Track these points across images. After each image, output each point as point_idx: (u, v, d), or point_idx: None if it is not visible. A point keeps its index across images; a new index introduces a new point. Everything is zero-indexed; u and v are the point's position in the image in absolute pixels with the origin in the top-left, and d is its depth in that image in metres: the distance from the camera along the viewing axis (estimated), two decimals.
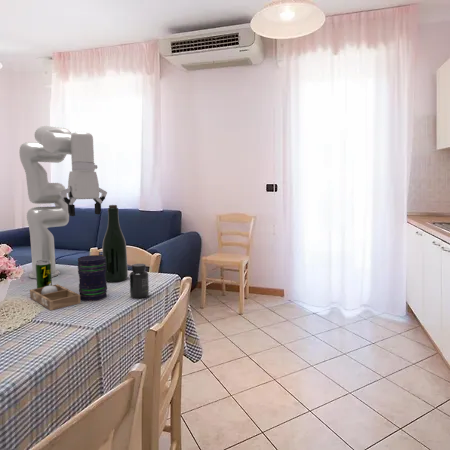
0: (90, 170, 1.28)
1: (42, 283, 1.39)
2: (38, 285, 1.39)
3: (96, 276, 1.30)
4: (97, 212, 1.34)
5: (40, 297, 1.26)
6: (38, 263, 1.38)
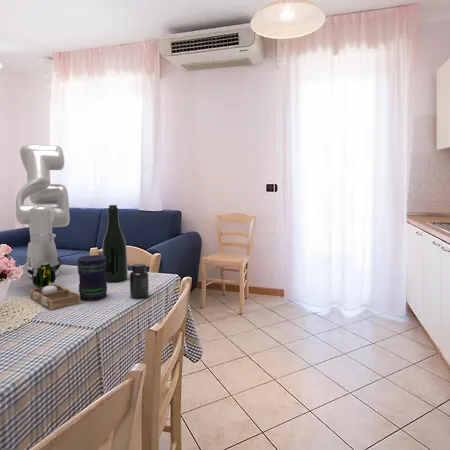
0: (47, 241, 1.38)
1: (42, 283, 1.39)
2: None
3: (96, 276, 1.30)
4: None
5: (40, 297, 1.26)
6: None
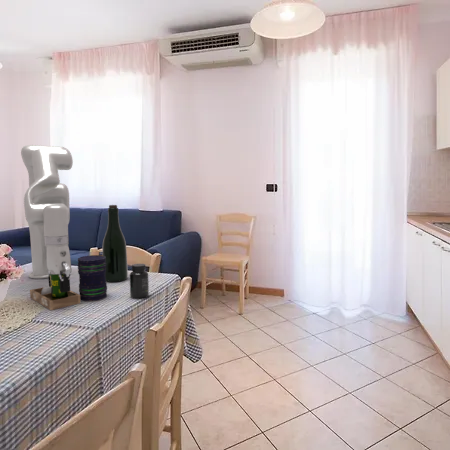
0: (47, 245, 1.22)
1: None
2: None
3: (96, 276, 1.30)
4: None
5: (40, 297, 1.26)
6: None
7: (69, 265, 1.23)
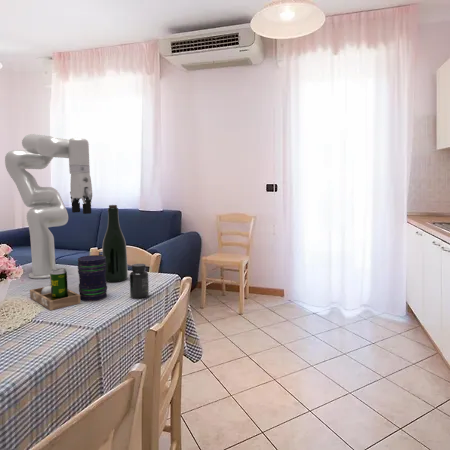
0: (71, 172, 1.40)
1: None
2: None
3: (96, 276, 1.30)
4: None
5: (40, 297, 1.26)
6: None
7: (90, 191, 1.42)
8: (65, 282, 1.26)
